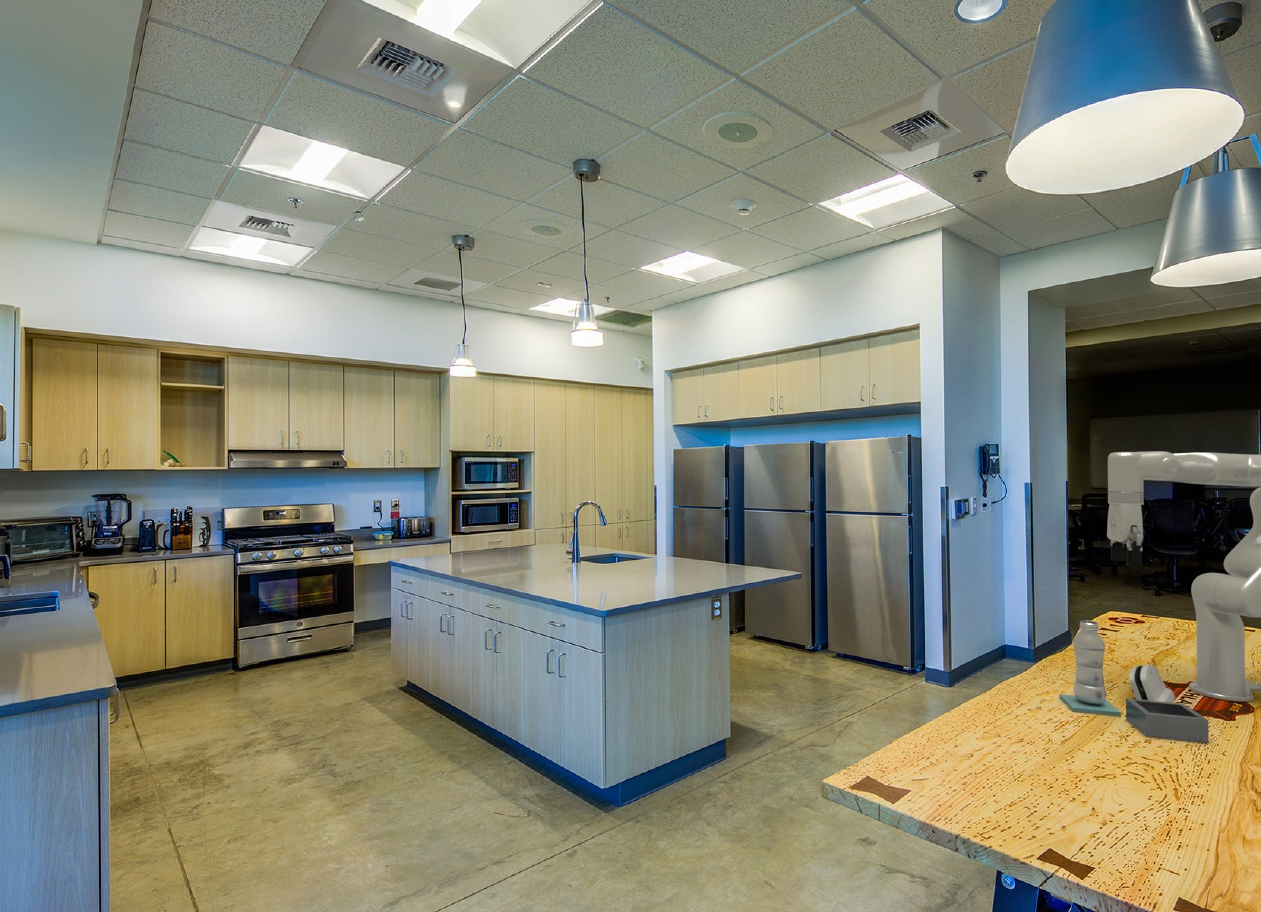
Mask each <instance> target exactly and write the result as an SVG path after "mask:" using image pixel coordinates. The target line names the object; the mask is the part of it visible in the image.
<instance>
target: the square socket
mask: <svg viewBox="0 0 1261 912" xmlns="http://www.w3.org/2000/svg"><path fill="white" fill-rule="evenodd" d="M1125 720H1126V721H1127V722H1128V723H1129V724H1130V725H1131V726H1133V727H1134V728H1135V729H1137V730H1138V732H1140V733H1141V734H1142V735H1143V736H1145V737H1146V738H1154V739H1162V740H1163V739H1164V740H1174V741H1181V742H1191V743H1199V744H1200V743H1202V744H1209V719H1207V718H1206V717H1204V716H1203V715H1201V714H1200V713H1198V712H1197V711H1195V710H1194V709H1192V708H1191V707H1190V706H1188V705H1186V704H1185V703H1181V702H1180V703H1179V702H1173V703H1171V702H1160V701H1150V700H1139V699H1136V698H1128V697H1127V698H1126V697H1125Z"/></svg>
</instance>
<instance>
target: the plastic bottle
mask: <svg viewBox="0 0 1261 912" xmlns="http://www.w3.org/2000/svg"><path fill="white" fill-rule="evenodd" d="M1079 629H1080V631H1078V633H1077V634H1076V635H1075V637H1073V640H1072V643H1073V649H1074V656H1075V663H1076V664H1075V666H1076V669H1075V681H1074V684H1073V694H1074V696H1075V697H1076V698H1077V699H1078V700H1079V701H1082V702H1085V703H1089V704H1103V703H1104V702H1105V700H1107V699H1106V698H1107V691H1106V690H1107V689H1106V685H1105V683H1104V682H1105V680H1104V673H1103V672H1104V668H1103V667H1104V658H1105V657H1104V656H1105V651H1106V644H1105V641H1104V639H1103V638H1102V637H1101V636H1100V634H1099V633H1098V632H1099V631H1100V630H1099V622H1096V621H1092V620H1085V619H1084V620H1080V621H1079Z"/></svg>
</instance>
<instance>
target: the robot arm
mask: <svg viewBox="0 0 1261 912" xmlns="http://www.w3.org/2000/svg"><path fill="white" fill-rule="evenodd" d="M1144 481H1161V482H1162V481H1163V482H1176V483H1185V484H1194V485H1196V484H1197V485H1212V486H1231V487H1233V486H1235V487H1258V488H1256V489H1254V491H1252V492H1251V494H1250V498H1249V505H1250V508H1251V509H1250V510H1251V513H1252V520H1253V523H1252V526H1251V527H1252V528H1251V529H1250V530H1249V531H1248V533H1246V535H1245V536H1244V537H1243V538H1242V539H1241V540H1240V541H1239V542H1238V543H1237V544H1236V545H1235V546H1234V548H1232V549H1231V551H1230V552H1229V553H1228V554H1227V555H1226V556H1225V558H1224V560H1223V567H1224V568H1223V569H1224V570H1225V571H1226V572H1227V573H1228V574H1225V573H1218V572H1207V573H1202V574H1200V575H1198V576H1196V578H1195V579H1194V580H1193V581H1192V584H1191V589H1190V590H1191V591H1190V592H1191V597H1192V601H1193V605H1194V608H1195V619H1196V681H1192V682H1190V683H1189V684H1188V685H1189V687H1188V688H1189V690H1191V691H1192V692H1195V693H1196V694H1200V695H1202V696H1206V697H1208V698H1213V699H1217V700H1223V701H1231V702H1245V703H1246V702H1251V701H1253V700H1254V694H1253V692H1255V691H1258V692H1261V683H1257V682H1256V681H1250V680H1249V679H1246V642H1245V641H1246V640H1245V639H1246V631H1245V629H1246V628H1245V626H1244V622H1243V620H1242V618H1241V616H1244V617H1248V618H1261V454H1248V453H1247V454H1243V453H1242V454H1241V453H1224V452H1222V453H1221V452H1207V451H1206V452H1199V451H1198V452H1185V453H1184V452H1183V453H1171V452H1169V451H1164V450H1163V451H1162V450H1161V451H1159V450H1158V451H1135V452H1134V451H1118V452H1117V451H1116V452H1111V453H1110V454H1108V456H1107V503H1108V504H1109V507H1108V511H1107V524H1106V525H1107V526H1106V527H1107V529H1106V531H1107V532H1106V537H1107V538H1108V539H1109V540H1110V560H1111V561H1113V562H1125V563H1126V564H1125V565H1126V566H1128V567H1139V568H1140V567H1142V566H1143V544H1144V543H1143V540H1144V527H1143V526H1144V525H1143V512H1142V506H1144V503H1145V502H1144V493H1145V492H1144V488H1145V487H1144ZM1125 544H1126V546H1125ZM1126 548H1127V550H1126Z"/></svg>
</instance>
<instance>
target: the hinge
mask: <svg viewBox="0 0 1261 912" xmlns="http://www.w3.org/2000/svg"><path fill="white" fill-rule="evenodd" d="M1128 680H1129V683H1130V687H1131V690H1132V692H1133V694H1134V697H1135V699H1139V700H1150V701H1160V702H1171V703H1172V702H1173V703H1174V701H1175V700H1176V695H1175V694H1174V691H1173V689H1172V690H1171V688H1167V687H1166V685H1165V682H1164V680H1163V677H1162V676H1161V673H1160V672H1159V670H1158V667H1157V666H1156V665H1154V664H1143V665H1141V664H1140V665H1139V664H1138V665H1136V666H1134V667H1132V668H1131V669H1130V672H1129V678H1128Z"/></svg>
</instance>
